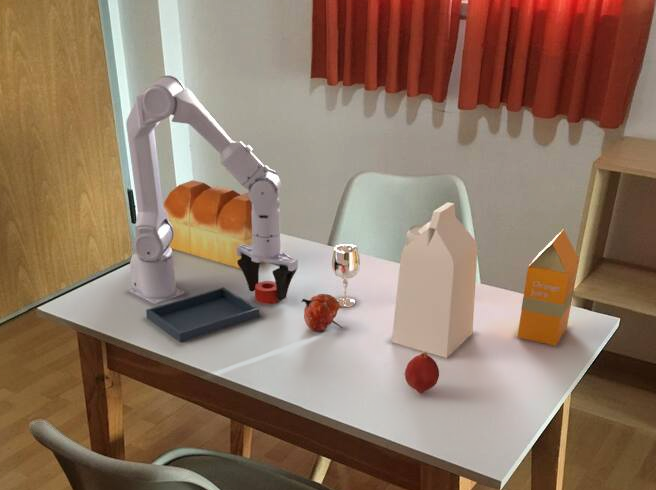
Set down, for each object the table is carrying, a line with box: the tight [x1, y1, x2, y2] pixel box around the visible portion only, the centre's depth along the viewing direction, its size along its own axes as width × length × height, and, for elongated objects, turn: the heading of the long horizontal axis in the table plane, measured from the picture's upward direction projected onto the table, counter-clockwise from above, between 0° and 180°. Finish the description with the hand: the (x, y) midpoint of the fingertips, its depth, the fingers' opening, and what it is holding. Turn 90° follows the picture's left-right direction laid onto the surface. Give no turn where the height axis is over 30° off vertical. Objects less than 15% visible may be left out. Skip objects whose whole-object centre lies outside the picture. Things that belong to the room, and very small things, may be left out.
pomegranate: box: [300, 293, 344, 333], centre depth 161 cm, size 7×7×10 cm
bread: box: [163, 179, 252, 270], centre depth 194 cm, size 25×12×15 cm, turn 55°
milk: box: [391, 201, 478, 359], centre depth 153 cm, size 12×12×26 cm
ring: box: [254, 280, 280, 305], centre depth 173 cm, size 5×5×3 cm
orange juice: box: [517, 228, 580, 347], centre depth 157 cm, size 8×9×20 cm
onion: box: [404, 351, 440, 394], centre depth 140 cm, size 6×6×8 cm
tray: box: [145, 286, 261, 343], centre depth 166 cm, size 13×18×2 cm
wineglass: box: [331, 244, 361, 308], centre depth 170 cm, size 6×6×12 cm
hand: (267, 294), depth 174 cm, fingers open, 7 cm apart
